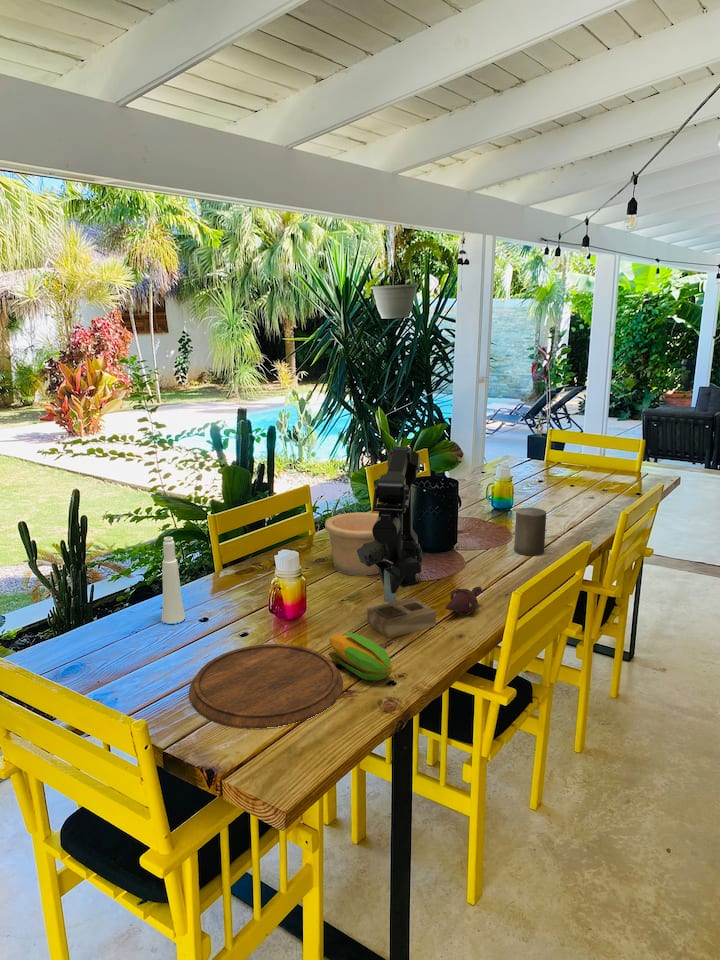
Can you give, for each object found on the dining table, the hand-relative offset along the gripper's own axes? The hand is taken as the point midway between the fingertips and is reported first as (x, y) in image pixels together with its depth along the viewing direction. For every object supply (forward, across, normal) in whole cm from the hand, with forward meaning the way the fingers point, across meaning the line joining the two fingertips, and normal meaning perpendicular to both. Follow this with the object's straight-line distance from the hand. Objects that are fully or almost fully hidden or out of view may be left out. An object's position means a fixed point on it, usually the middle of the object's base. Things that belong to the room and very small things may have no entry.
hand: (390, 590), depth 175 cm
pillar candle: (+10, -26, +70) cm, 76 cm away
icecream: (+10, +2, +21) cm, 23 cm away
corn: (+10, +14, -18) cm, 25 cm away
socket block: (+10, 0, +3) cm, 10 cm away
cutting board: (+10, +11, -38) cm, 41 cm away
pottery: (+10, -41, +15) cm, 45 cm away
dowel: (+2, 0, 0) cm, 2 cm away
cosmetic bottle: (+10, -31, -46) cm, 56 cm away
